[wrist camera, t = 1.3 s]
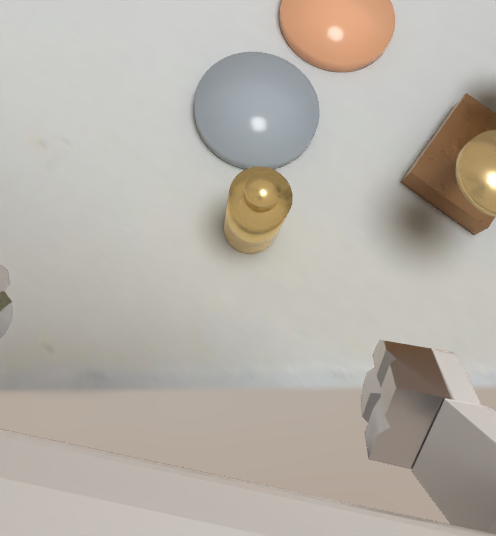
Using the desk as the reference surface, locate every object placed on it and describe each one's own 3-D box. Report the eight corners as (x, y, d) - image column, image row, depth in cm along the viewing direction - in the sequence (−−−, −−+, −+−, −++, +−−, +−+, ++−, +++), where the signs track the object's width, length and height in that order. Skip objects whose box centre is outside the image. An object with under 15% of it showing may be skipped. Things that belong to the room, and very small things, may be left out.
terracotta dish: (256, 26, 43) (257, 16, 41) (320, -44, 45) (324, -55, 44) (350, 93, 42) (354, 85, 41) (410, 18, 45) (416, 9, 43)
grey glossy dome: (168, 120, 39) (167, 112, 38) (243, 39, 42) (244, 30, 41) (269, 194, 39) (271, 189, 38) (338, 107, 41) (343, 100, 40)
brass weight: (213, 232, 38) (216, 193, 29) (244, 194, 39) (256, 146, 30) (255, 264, 37) (270, 233, 29) (285, 224, 38) (308, 184, 30)
